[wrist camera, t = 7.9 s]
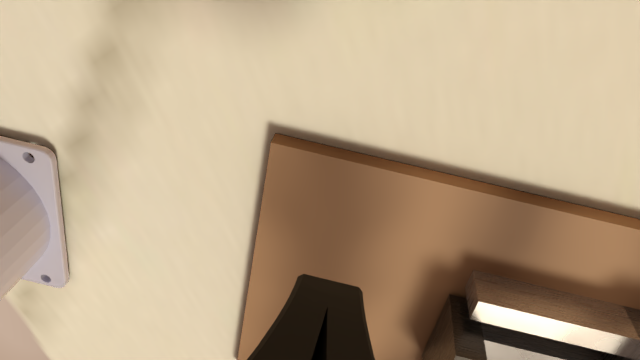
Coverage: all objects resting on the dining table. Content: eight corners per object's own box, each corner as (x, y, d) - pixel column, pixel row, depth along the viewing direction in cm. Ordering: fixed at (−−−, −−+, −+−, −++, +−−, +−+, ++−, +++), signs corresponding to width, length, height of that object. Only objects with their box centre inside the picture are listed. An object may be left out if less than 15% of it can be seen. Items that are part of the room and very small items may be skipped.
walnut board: (239, 362, 27) (235, 374, 27) (275, 133, 20) (270, 142, 19) (570, 444, 27) (575, 458, 26) (735, 242, 19) (747, 255, 19)
